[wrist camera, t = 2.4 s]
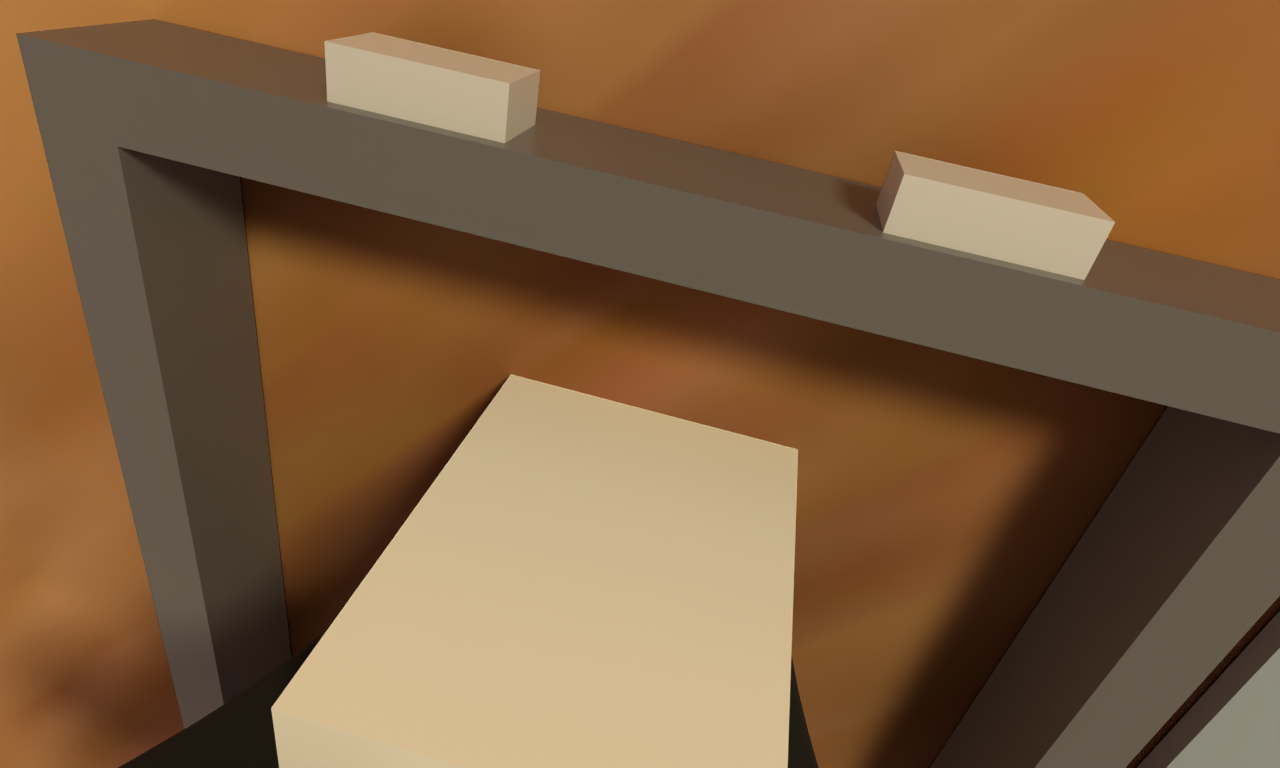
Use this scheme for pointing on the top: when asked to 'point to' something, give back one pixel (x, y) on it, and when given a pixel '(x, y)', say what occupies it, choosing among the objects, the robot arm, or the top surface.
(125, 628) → the top surface
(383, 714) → the block
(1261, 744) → the slate mat
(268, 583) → the frame
